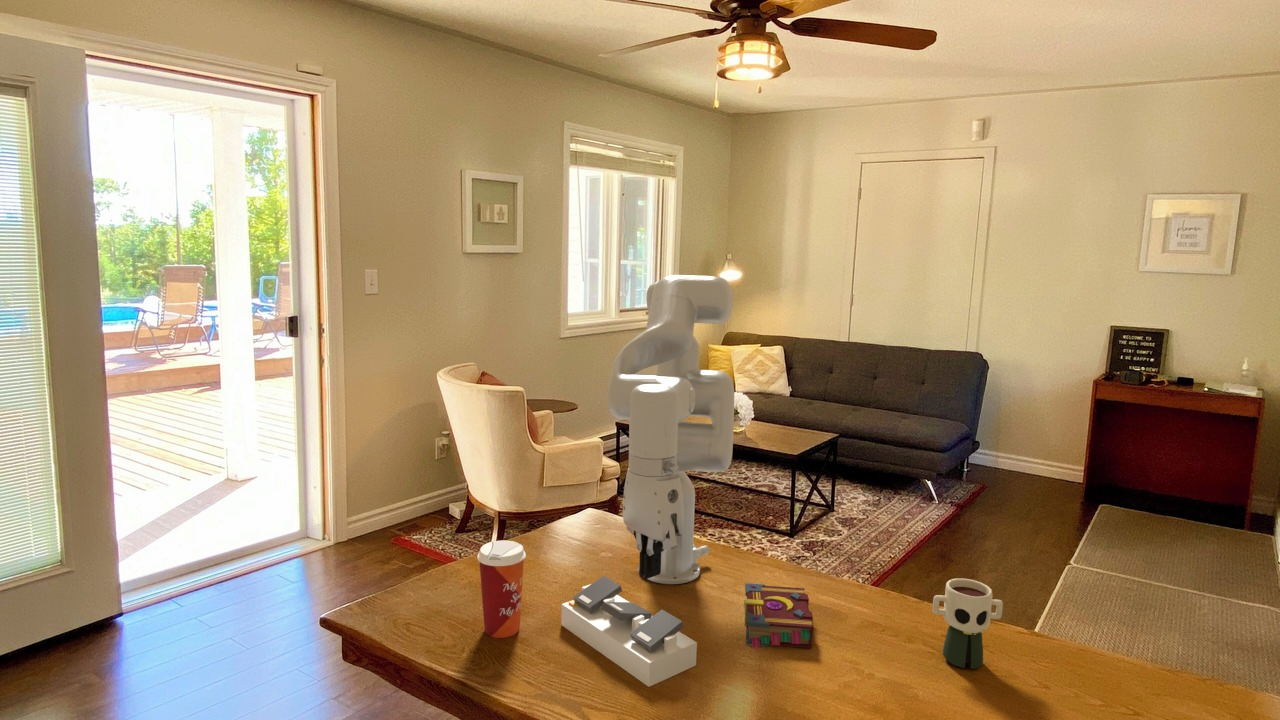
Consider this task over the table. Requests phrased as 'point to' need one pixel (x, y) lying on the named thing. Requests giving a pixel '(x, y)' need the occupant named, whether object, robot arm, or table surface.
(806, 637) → the decorative book
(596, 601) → the rocker
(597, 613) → the strip
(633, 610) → the rocker mid
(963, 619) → the character mug
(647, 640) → the rocker
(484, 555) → the coffee cup
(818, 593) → the table surface
